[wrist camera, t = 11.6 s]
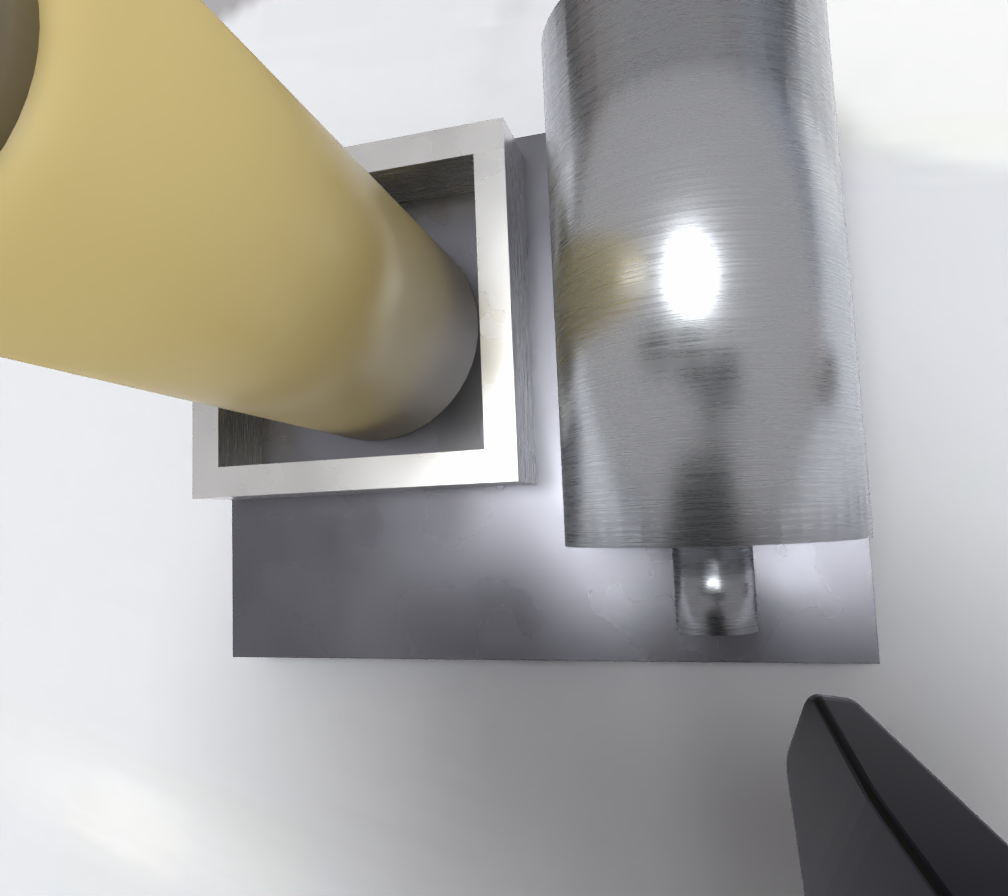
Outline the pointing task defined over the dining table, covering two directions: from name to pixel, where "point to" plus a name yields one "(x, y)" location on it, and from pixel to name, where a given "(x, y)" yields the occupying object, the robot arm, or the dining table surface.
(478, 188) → the motor mount
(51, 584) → the dining table surface
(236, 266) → the bottle
